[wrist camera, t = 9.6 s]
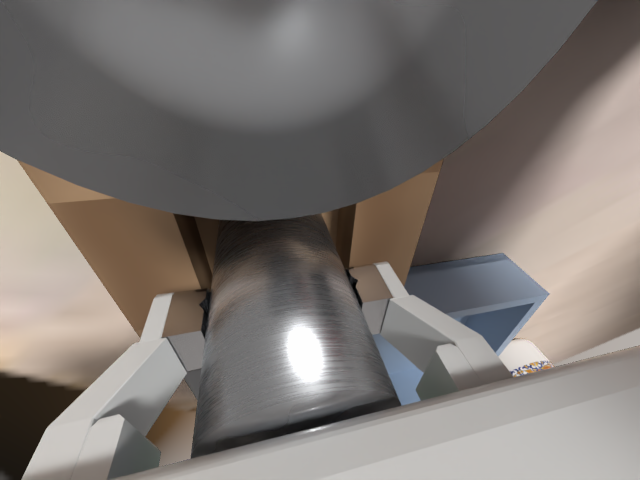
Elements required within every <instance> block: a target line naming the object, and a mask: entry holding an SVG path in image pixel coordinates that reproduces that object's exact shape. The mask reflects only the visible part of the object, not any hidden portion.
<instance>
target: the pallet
mask: <svg viewBox="0 0 640 480" xmlns="http://www.w3.org/2000/svg"><path fill="white" fill-rule="evenodd" d="M443 160H444V158H443V159H442V160H440V161H439V162H437V163H436V164H434V165H433V166H431V167H430V168H428V169H427V170H425V171H424V172H422V173H420V174H418V175H417V176H415V177H413V178H411V179H409V180H407V181H405V182H404V183H402V184H400V185H398V186H396V187H394V188H392V189H391V190H388V191H386V192H383V193H381V194H378V195H376V196H374V197H371V198H369V199H366V200H364V201H362V202H359V203H356V204H353V205H349V206H346V207H342V208H339V209H336V210H332V211H329V212H325V213H321V214H322V216H323V219H324V221H325V223H326V226H327V228H328V231H329V233H330V235H331V238H332V240H333V243H334V245H335V247H336V250H337V252H338V255H339V257H340V259H341V262H342V264H343V266H344V269H345V268H347V267H354V266H360V265H367V264H373V263H379V262H388V263H389V264H390V266H391V267H392V269H393V270H394V272H395V274H396V275H397V277H398V278H399V280H400V282H401V283H402V285H403V286H404V285H405V282H406V279H407V275H408V272H409V269H410V266H411V263H412V259H413V256H414V253H415V250H416V246H417V243H418V240H419V237H420V234H421V230H422V227H423V224H424V221H425V218H426V214H427V211H428V208H429V205H430V201H431V198H432V195H433V192H434V189H435V185H436V182H437V179H438V176H439V172H440V169H441V166H442V163H443ZM18 162H19V163H20V165H21V166H22V167H23V169H24V170H25V172H26V173H27V175H28V176H29V178H30V179H31V181H32V182H33V183H34V185H35V186H36V188H37V189H38V191H39V192H40V194H41V195H42V196H43V198H44V199H45V201H46V202H47V204H48V205H49V207H50V208H51V210H52V211H53V212H54V214H55V215H56V217H57V218H58V220H59V221H60V223H61V224H62V225H63V227H64V228H65V230H66V231H67V233H68V234H69V236H70V237H71V239H72V240H73V241H74V243H75V244H76V246H77V247H78V249H79V250H80V252H81V253H82V254H83V256H84V257H85V259H86V260H87V262H88V263H89V265H90V266H91V268H92V269H93V270H94V272H95V273H96V275H97V276H98V278H99V279H100V281H101V282H102V283H103V285H104V286H105V288H106V289H107V291H108V292H109V294H110V295H111V297H112V298H113V299H114V301H115V302H116V304H117V305H118V307H119V308H120V310H121V311H122V312H123V314H124V315H125V317H126V318H127V320H128V321H129V323H130V324H131V326H132V327H133V328H134V330H135V331H136V333H137V334H138V336H139V337H140V338H141V335H142V332H143V329H144V326H145V323H146V320H147V317H148V314H149V311H150V308H151V305H152V302H153V299H154V298H155V297H156V295H158V294H166V293H175V292H180V291H188V290H196V289H205V288H209V289H210V290H211V285H212V277H213V268H214V260H215V252H216V243H217V235H218V226H219V220H217V219H209V218H202V217H195V216H188V215H181V214H174V213H170V212H166V211H162V210H158V209H154V208H149V207H145V206H141V205H137V204H133V203H129V202H126V201H123V200H120V199H117V198H114V197H111V196H108V195H105V194H102V193H99V192H96V191H93V190H90V189H87V188H84V187H81V186H78V185H75V184H73V183H71V182H68V181H66V180H64V179H61V178H59V177H57V176H54V175H52V174H49V173H47V172H45V171H42V170H40V169H38V168H35V167H33V166H31V165H28V164H26V163H24V162H21V161H19V160H18Z"/></svg>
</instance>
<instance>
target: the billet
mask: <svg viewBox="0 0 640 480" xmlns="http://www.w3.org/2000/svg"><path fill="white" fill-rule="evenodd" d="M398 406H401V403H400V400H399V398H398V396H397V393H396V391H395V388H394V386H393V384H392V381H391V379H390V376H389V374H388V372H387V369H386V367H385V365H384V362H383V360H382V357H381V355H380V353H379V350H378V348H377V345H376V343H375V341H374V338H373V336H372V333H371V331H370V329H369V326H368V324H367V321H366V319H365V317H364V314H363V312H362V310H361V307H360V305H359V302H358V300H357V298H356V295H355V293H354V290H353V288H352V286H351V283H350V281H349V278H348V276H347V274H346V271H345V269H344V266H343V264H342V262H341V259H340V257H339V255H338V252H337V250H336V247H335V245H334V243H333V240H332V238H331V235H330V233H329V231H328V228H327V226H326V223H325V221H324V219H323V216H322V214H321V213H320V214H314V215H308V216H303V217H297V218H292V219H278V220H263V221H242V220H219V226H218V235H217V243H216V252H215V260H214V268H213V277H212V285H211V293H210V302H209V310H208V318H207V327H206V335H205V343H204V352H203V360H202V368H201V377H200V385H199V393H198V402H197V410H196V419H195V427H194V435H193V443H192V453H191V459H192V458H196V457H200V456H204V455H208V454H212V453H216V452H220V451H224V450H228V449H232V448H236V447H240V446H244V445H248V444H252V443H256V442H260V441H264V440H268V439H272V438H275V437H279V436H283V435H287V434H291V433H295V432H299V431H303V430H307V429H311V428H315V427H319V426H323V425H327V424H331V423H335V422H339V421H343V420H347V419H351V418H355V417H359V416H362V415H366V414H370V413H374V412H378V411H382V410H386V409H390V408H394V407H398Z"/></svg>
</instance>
